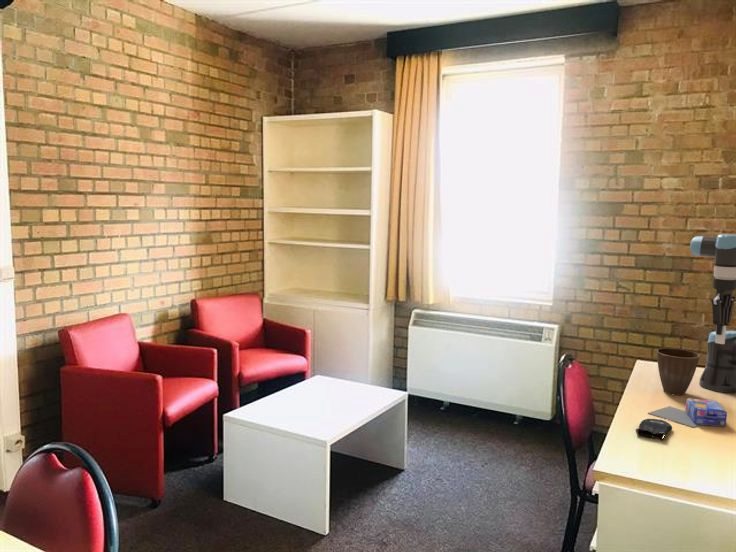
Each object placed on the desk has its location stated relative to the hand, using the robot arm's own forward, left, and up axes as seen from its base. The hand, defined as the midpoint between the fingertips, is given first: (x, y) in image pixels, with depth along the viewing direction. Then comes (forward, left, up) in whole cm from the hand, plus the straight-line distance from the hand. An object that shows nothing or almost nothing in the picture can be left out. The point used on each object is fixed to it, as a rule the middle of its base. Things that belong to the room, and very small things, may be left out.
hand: (719, 343), depth 229 cm
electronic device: (+42, +2, -25) cm, 49 cm away
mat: (+21, -1, -24) cm, 32 cm away
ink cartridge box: (+12, +1, -21) cm, 24 cm away
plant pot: (-5, -18, -24) cm, 30 cm away
